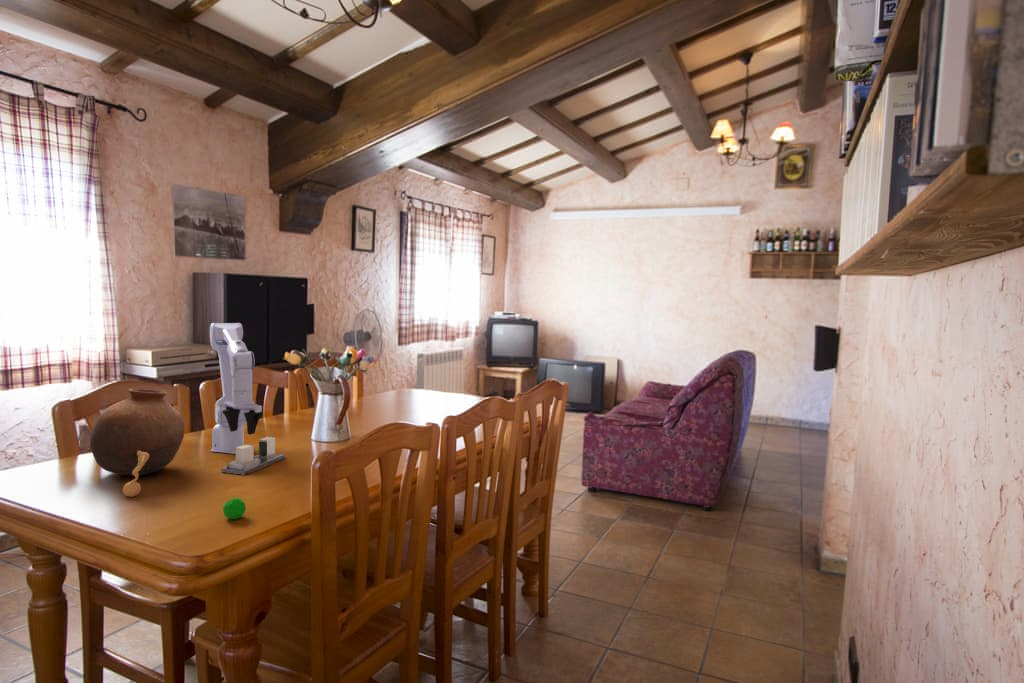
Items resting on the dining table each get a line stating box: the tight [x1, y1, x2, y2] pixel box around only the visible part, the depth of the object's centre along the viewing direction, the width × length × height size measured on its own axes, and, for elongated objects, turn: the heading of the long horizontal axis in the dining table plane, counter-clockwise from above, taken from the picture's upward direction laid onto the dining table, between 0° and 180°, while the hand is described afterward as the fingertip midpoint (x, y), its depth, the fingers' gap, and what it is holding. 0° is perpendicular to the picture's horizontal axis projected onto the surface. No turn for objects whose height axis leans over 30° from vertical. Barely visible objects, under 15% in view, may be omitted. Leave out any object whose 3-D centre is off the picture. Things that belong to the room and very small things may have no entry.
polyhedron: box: [222, 497, 247, 520], centre depth 144 cm, size 5×5×5 cm
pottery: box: [89, 388, 186, 477], centre depth 175 cm, size 23×23×25 cm
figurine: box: [122, 451, 149, 498], centre depth 157 cm, size 8×6×12 cm
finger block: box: [235, 444, 255, 464], centre depth 183 cm, size 3×4×6 cm
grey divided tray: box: [220, 436, 286, 476], centre depth 188 cm, size 8×20×7 cm, turn 166°
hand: (242, 432), depth 190 cm, fingers open, 7 cm apart
